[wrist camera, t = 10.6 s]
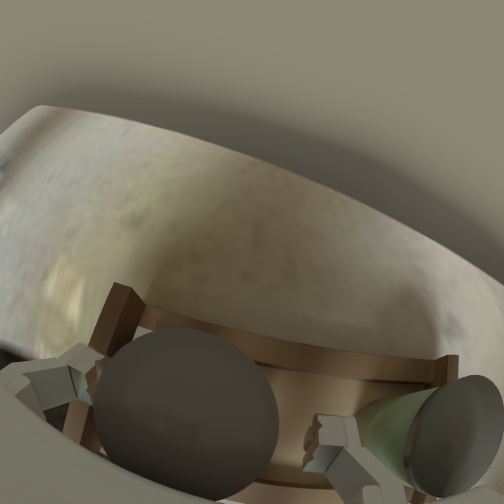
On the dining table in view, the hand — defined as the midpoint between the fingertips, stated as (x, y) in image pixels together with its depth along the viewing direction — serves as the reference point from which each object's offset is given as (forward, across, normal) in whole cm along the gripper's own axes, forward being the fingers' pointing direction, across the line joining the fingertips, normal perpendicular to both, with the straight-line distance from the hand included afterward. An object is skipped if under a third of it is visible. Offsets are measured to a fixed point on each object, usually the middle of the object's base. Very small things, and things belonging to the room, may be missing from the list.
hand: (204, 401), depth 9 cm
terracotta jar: (+4, 0, +5) cm, 6 cm away
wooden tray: (+4, -4, +5) cm, 7 cm away
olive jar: (+4, -10, +5) cm, 12 cm away
